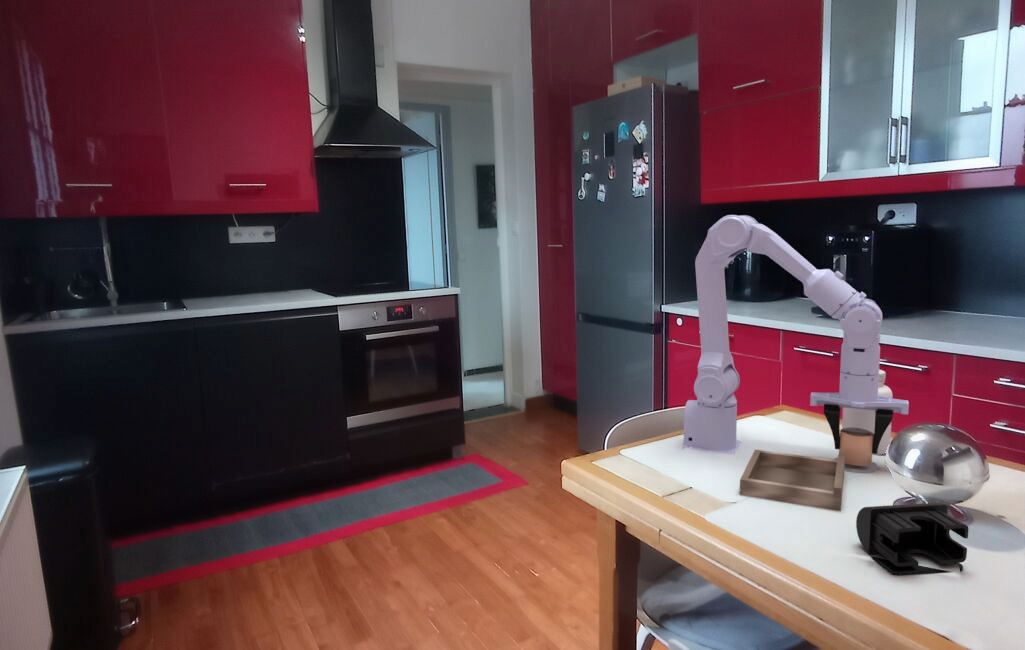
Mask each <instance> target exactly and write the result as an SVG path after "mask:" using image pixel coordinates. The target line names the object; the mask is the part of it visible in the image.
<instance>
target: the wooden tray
mask: <svg viewBox="0 0 1025 650" xmlns="http://www.w3.org/2000/svg"><path fill="white" fill-rule="evenodd" d="M837 458H838V460H833V459H831V458H822V457H815V456H809V455H808V456H807V455H799V454H794V453H793V454H792V453H786V452H785V453H783V452H776V451H769V450H762V449H754V451H753V453H752V455H751V457H750V459H749V461H748V462H747V464H746V467H745V469H744V471H743V472H742V475H741V476H740V479H739V495H740V496H745V497H752V498H759V499H765V500H771V501H777V502H782V503H788V504H796V505H801V506H808V507H814V508H819V509H820V508H821V509H826V510H830V511H836V512H837V511H839V512H841V511H842V502H843V490H844V480H845V470H844V467H845V455H839V454H837Z"/></svg>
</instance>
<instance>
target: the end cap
mask: <svg viewBox="0 0 1025 650" xmlns="http://www.w3.org/2000/svg"><path fill="white" fill-rule="evenodd" d="M948 508H949V507H948V504H946V503H943V502H927V503H925V502H924V503H908V504H894V505H876V506H875V505H874V506H864V507H862V508H861V509H860V510H859V511H858V513H857V515H856V520H855V524H856V525H855V528H856V533H857V537H858V539H859V542H860V544H861V546H862V548H863V549H864V551H865V552H866V553H867V554H868V555H869V557H870V559H872V561H873V562H875V563H876V564H877V565H879V567H881V568H883V569H884V570H885V571H886V572H887V573H889V575H891V576H895V577H901V576H915V575H917V576H919V575H933V574H944V573H945V574H947V573H948V574H950V573H952V571H948V570H944V569H940V568H939V569H938V568H934V567H929V566H924V565H919V564H920V562H919V561H918V560H917V559H916V558H914V557H913V556H911V555H910V554H912V553H917V554H918V553H919V554H923V555H926V556H929V557H931V558H933V559H934V560H936V561H937V562H938V563H940V564H941V565H947V564H954V565H956V564H957V565H958V570H959V572H963V571H964V565H963V564H961V563H964V562H965V561H967V553H968V548H967V547H966V546H964V545H963V544H961V543H960V542H957V541H956V540H955V539H953V538H952V537H951V535H950V531H952V532H953V533H955V534H956V535H958V536H960V537H961V538H963V539H969V526H968V525H967V524H965V523H963V522H962V521H960V520H959V519H957V518H955V517H953V516H952V515H950V514H948ZM874 555H876V556H874ZM877 555H882V556H883V557H884V558H881V557H877Z"/></svg>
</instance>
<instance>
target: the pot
mask: <svg viewBox="0 0 1025 650" xmlns="http://www.w3.org/2000/svg"><path fill="white" fill-rule="evenodd" d="M873 439H874V434H873V433H872V432H871V431H868V430H865V429H861V428H853V427H850V428H843V429H842V428H840V447H839V449H838V455H845V463H846V464H850V465H855V466H868V465H871V464H872V462H873V455H872V450H873Z"/></svg>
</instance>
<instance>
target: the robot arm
mask: <svg viewBox="0 0 1025 650" xmlns="http://www.w3.org/2000/svg"><path fill="white" fill-rule="evenodd" d="M745 251H746V252H747V253H753V254H761V255H765V256H767V257H769V258H770V259H771V260H773V262H775V264H778V265H779V266H780V267H781V268H783V269H784V270H785V271H787V272H788V273H789V274H791V275H792V276H793V277H794V278H796V279H797V280H798V281H800V282H801V283H802V285H803V295H804V296H806V297H807V298H808V299H809V300H810V301H811V302H813V303H814V304H815V305H816V306H818V307H819V308H820V309H822V310H823V311H824V312H825V313H826V314H827V315H829V316H830V317H831V318H832V319H836V320H839V325H840V328H841V329H842V332H843V336H842V338H843V339H842V344H841V349H840V350H841V351H840V352H841V353H840V368H839V369H840V370H839V372H840V373H839V390H838V391H839V392H813V391H812V392H811V393H810V399H809V402H810V404H809V406H811V407H812V406H813V407H817V406H823V414H824V416H825V419H826V421H827V423H828V425H829V428H830V431H831V434H832V437H833V441H834V442H833V443H834V449H835V450H839V447H840V430H841V428H840V423H841V422H840V421H841V408H842V409H843V408H854V409H865V410H875V430H874V439H873V450H872V453H873V454H877V451H878V447H879V444H880V441H881V438H882V436H883V434H884V432H885V431H886V429H887V427H888V426H889V424H890V423H891V424H892V421H893V418H894V413H898V414H901V415H907V416H908V415H909V406H910V405H909V404H910V403H909V400H905V399H899V398H893V397H892V398H886V397H880V396H878V380H879V370H880V361H881V360H880V357H881V346H880V344H879V343H880V342H881V335H880V330H881V327H882V324H883V316H884V315H883V312H882V310H881V308H880V307H879V305H878V304H877V303H876V301H875V300H872V299H869V298H867V294H866V293H865V292H863V291H861V292H859V291H857V290H856V289H855V288H853V287H852V286H851V285H850V284H849V283H848V282H846V281H845V280H844V279H843V277H844V275H843V273H841V271H838V270H836V271H835V272H834V271H833V270H831V269H830V268H823V269H817V268H816V267H815V266H814V265H813V264H812V263H810V261H808V259H806V258H804V256H802V255H801V254H800V253H799V252H798V251H797V250H795V249H794V248H793V247H792V245H790V244H789V243H788V242H787V241H785V239H783V238H782V237H781V236H780V235H778V233H776V232H775V231H773V230H772V229H771V228H769V227H768V226H766V225H764V224H762V223H759V222H758V221H757V220H756V219H755V218H754V217H752V216H750V215H746V214H744V215H743V214H742V215H741V214H740V215H737V214H727V215H725V216H722V218H720V219H719V220H718V221H716V222H715V223H714V224H713V225H712V226H711V227H710V228H709V229H708V230H707V234H706V237H705V240H704V242H703V244H702V245H701V248H700V249H699V251H698V254H697V255H696V257H695V264H694V265H695V278H696V279H695V281H696V282H695V283H696V293H697V306H698V307H697V308H698V321H699V324H698V325H699V339H700V340H699V341H700V351H701V354H700V358H699V361H698V363H697V364H698V365H697V376H696V379H695V381H694V385H693V391H694V395H695V397H696V400H695V399H688V400H687V401H686V403H685V406H684V411H683V412H684V413H683V414H684V415H683V446H682V448H683V450H684V449H691V450H692V449H693V450H701V451H708V452H714V453H723V454H730V455H734V454H736V452H737V450H738V448H739V447H740V445H741V443H742V441H741V440H737V428H738V427H737V417H738V414H737V413H738V404H737V403H738V400H737V398H736V396H735V394H734V393H735V392H736V391H737V390H738V388H739V386H740V381H741V380H740V374H739V372H738V371H737V370H736V367H735V364H734V357H733V356H732V352H731V351H730V340H729V339H730V338H729V325H728V324H729V323H728V322H729V321H728V309H727V293H726V277H725V269H726V267H727V266H728V265H729V264H730V263H731V262H732V261H733V260H734V259H735V258H736V257H737V256H738V255H740V254H741V253H743V252H745Z"/></svg>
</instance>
